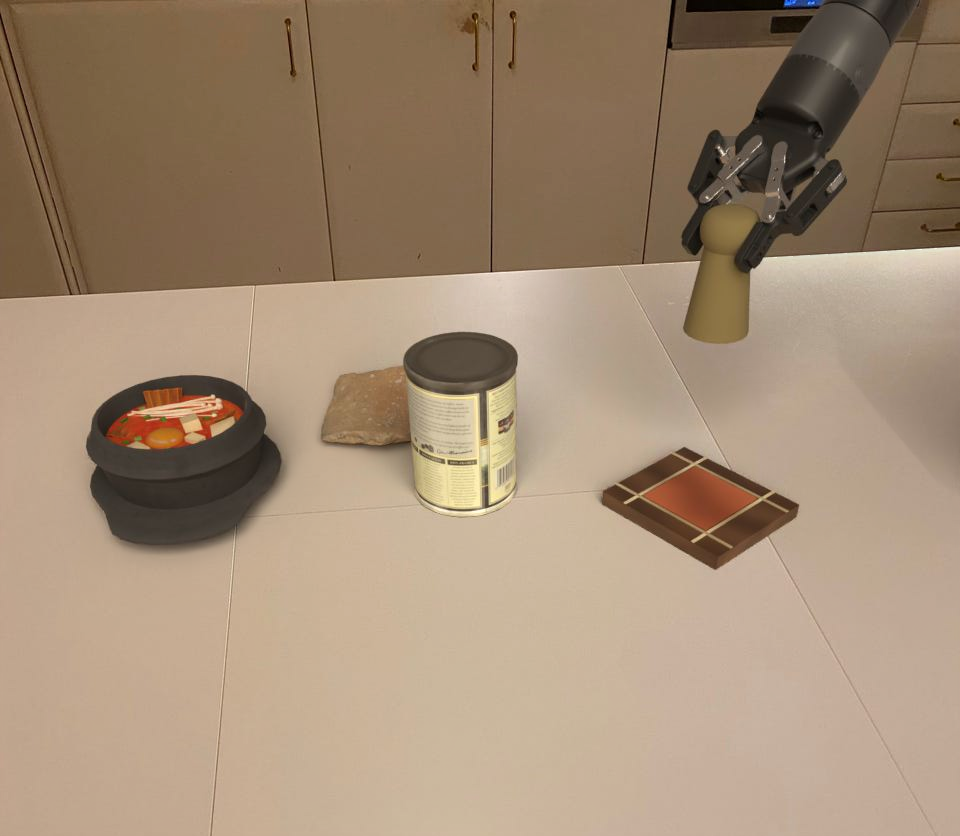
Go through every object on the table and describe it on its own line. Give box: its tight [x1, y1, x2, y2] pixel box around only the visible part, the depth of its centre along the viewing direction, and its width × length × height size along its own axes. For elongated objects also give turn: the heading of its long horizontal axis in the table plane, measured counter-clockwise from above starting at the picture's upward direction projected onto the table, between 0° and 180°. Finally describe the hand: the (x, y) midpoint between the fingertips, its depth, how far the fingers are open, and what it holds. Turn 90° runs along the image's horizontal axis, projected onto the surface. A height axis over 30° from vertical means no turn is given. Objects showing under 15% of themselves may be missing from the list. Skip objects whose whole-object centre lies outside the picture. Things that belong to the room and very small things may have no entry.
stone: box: [320, 364, 411, 447], centre depth 107 cm, size 11×16×3 cm
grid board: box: [601, 446, 800, 571], centre depth 94 cm, size 12×14×2 cm
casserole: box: [85, 374, 283, 546], centre depth 96 cm, size 25×19×8 cm
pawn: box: [682, 203, 762, 345], centre depth 89 cm, size 6×6×11 cm
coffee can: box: [402, 331, 519, 518], centre depth 93 cm, size 10×10×14 cm
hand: (713, 258), depth 87 cm, fingers closed on pawn, 5 cm apart
